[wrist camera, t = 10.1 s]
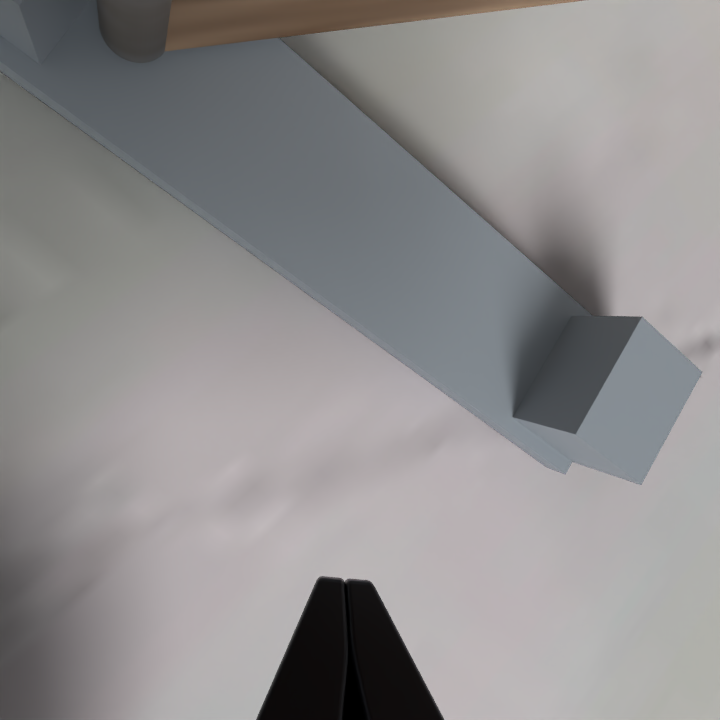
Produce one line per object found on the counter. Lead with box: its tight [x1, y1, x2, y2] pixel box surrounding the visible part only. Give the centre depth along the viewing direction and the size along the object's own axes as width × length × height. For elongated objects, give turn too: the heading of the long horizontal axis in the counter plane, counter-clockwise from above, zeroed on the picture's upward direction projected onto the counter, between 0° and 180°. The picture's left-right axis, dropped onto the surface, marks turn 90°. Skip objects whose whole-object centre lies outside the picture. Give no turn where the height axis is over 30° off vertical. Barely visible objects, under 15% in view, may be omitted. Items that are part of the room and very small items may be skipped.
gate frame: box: [0, 0, 702, 485], centre depth 16 cm, size 5×23×4 cm, turn 55°
